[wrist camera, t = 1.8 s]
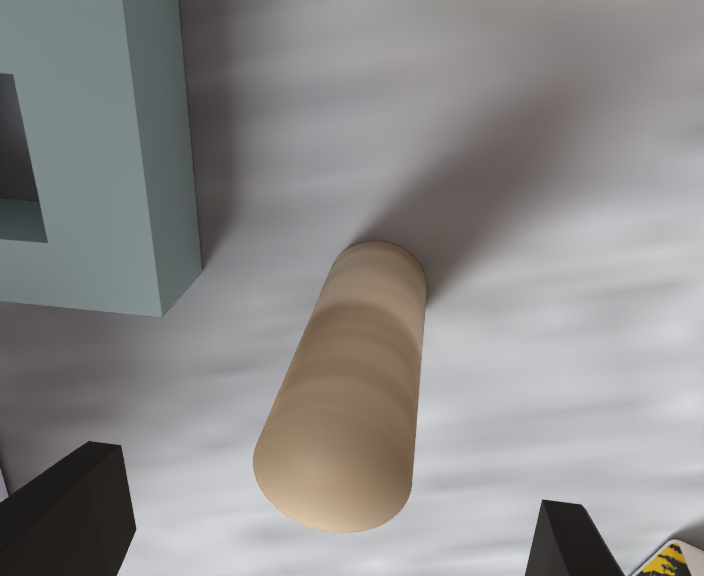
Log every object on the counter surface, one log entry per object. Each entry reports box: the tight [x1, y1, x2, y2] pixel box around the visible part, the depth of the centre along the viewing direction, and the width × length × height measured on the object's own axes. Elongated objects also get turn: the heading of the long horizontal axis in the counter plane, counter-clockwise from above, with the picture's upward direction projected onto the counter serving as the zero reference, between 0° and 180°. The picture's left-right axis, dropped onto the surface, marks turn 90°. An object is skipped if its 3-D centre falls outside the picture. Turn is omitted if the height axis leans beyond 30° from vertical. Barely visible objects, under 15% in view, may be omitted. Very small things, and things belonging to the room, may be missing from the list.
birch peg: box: [253, 241, 427, 533], centre depth 15 cm, size 3×3×8 cm
